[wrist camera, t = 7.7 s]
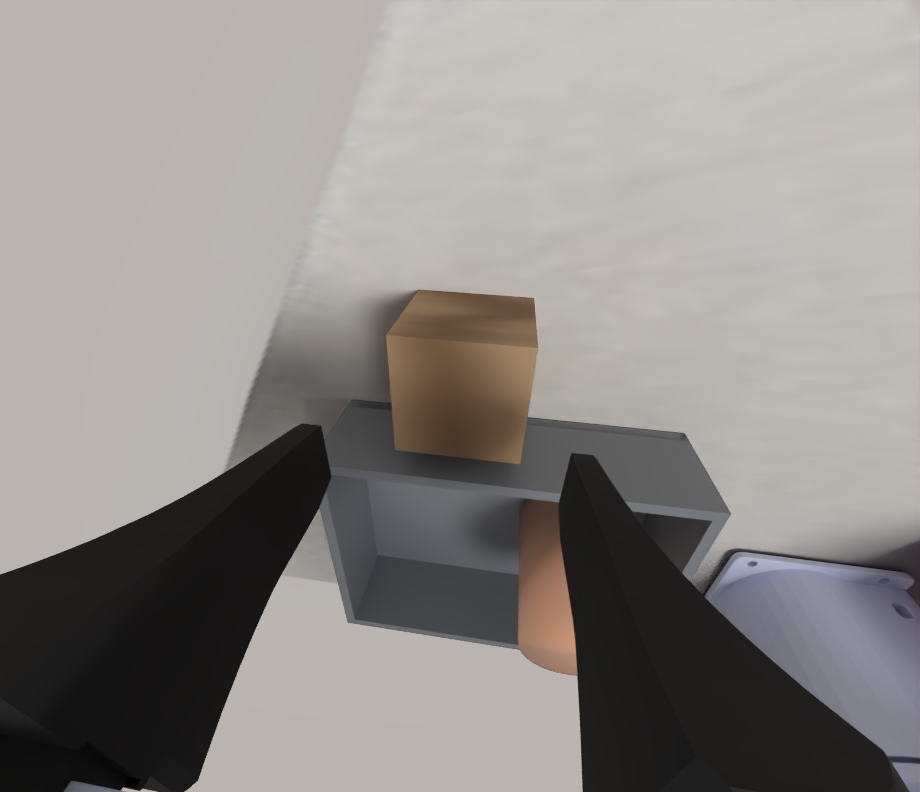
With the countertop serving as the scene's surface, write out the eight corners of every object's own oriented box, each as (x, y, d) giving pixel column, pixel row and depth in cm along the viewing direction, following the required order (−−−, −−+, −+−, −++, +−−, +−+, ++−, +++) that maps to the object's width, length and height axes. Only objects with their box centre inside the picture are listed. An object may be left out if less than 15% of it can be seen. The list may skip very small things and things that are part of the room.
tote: (684, 433, 19) (731, 513, 15) (618, 584, 26) (636, 668, 22) (351, 399, 21) (308, 463, 16) (373, 550, 28) (347, 622, 23)
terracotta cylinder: (559, 473, 21) (574, 601, 15) (626, 517, 22) (665, 652, 16) (501, 519, 23) (495, 644, 17) (564, 556, 24) (578, 685, 18)
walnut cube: (533, 297, 16) (538, 348, 12) (520, 395, 19) (519, 464, 15) (419, 289, 17) (385, 335, 13) (421, 386, 20) (395, 449, 16)
